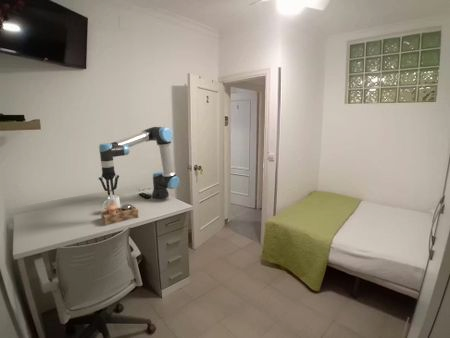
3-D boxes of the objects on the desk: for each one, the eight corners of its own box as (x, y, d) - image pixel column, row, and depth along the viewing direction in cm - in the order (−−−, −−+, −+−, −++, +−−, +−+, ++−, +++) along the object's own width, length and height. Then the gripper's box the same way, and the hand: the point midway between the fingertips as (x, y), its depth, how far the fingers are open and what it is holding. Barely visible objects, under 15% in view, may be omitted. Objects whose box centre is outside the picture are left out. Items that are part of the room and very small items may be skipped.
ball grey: (130, 213, 174) (129, 203, 173) (133, 216, 170) (132, 206, 168) (121, 215, 170) (120, 205, 169) (124, 218, 166) (123, 208, 164)
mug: (104, 216, 170) (103, 200, 168) (103, 212, 177) (101, 197, 175) (121, 212, 177) (120, 197, 174) (119, 209, 184) (118, 194, 181)
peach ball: (116, 214, 168) (115, 204, 166) (118, 217, 163) (117, 206, 161) (106, 216, 164) (105, 206, 162) (108, 219, 159) (107, 209, 157)
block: (133, 212, 178) (132, 204, 177) (138, 217, 169) (137, 209, 168) (101, 219, 165) (100, 211, 164) (105, 225, 156) (104, 217, 154)
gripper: (116, 164, 162) (119, 195, 168) (95, 166, 154) (100, 199, 160) (119, 166, 157) (122, 198, 162) (98, 168, 149) (102, 203, 154)
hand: (111, 199), depth 161 cm, fingers closed
